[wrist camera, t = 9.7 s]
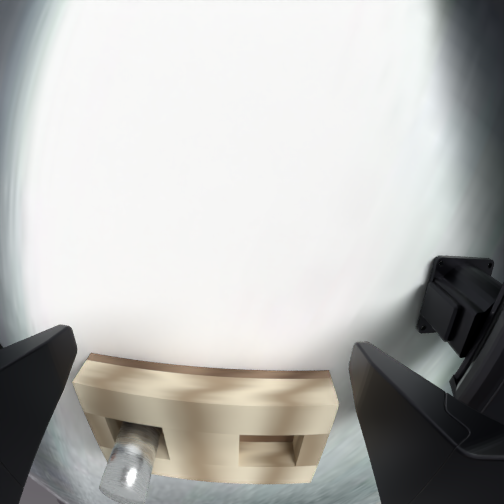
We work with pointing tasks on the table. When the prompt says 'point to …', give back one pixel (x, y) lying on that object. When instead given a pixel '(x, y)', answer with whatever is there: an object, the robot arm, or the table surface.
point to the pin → (131, 463)
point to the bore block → (213, 417)
